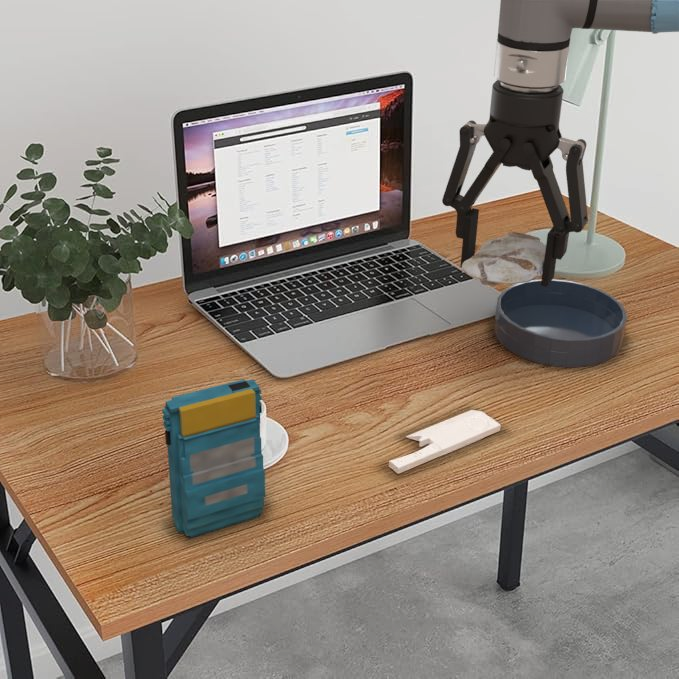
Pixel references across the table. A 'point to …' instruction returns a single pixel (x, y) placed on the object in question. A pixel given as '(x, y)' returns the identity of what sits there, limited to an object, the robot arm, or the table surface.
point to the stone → (507, 260)
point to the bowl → (560, 323)
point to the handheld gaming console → (215, 457)
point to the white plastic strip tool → (446, 438)
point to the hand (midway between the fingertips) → (506, 272)
